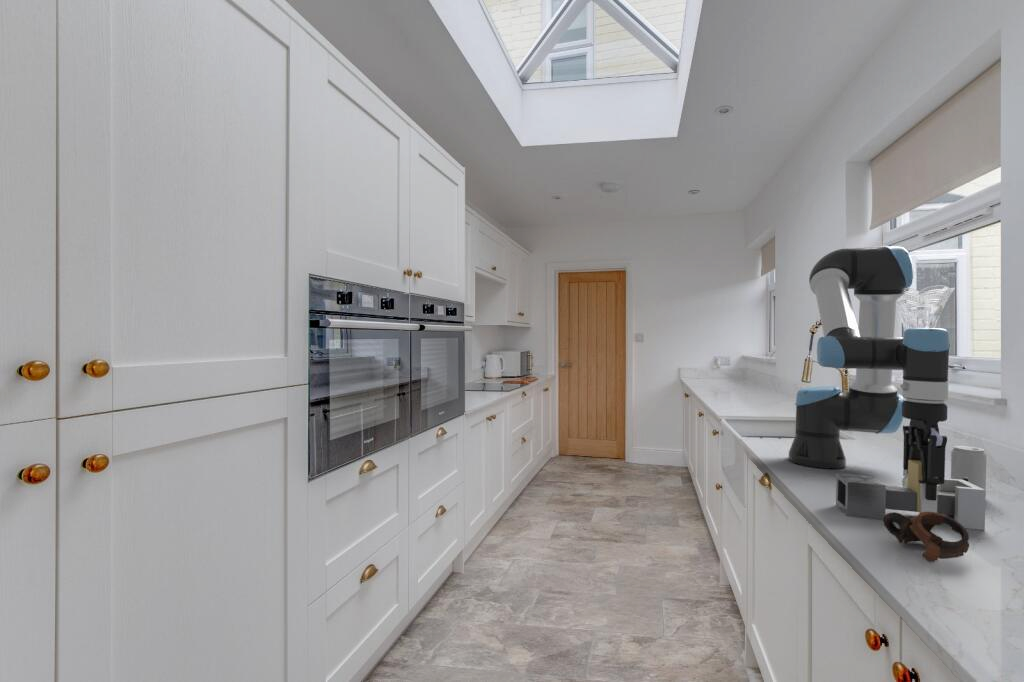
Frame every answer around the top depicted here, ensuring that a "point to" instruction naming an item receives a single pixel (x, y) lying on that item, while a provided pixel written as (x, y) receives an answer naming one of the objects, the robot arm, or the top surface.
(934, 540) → the rusty metal ring bracket
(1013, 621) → the top surface
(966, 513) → the socket
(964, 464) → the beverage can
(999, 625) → the top surface
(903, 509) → the two-tone stepped block
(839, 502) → the gray block
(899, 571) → the top surface
